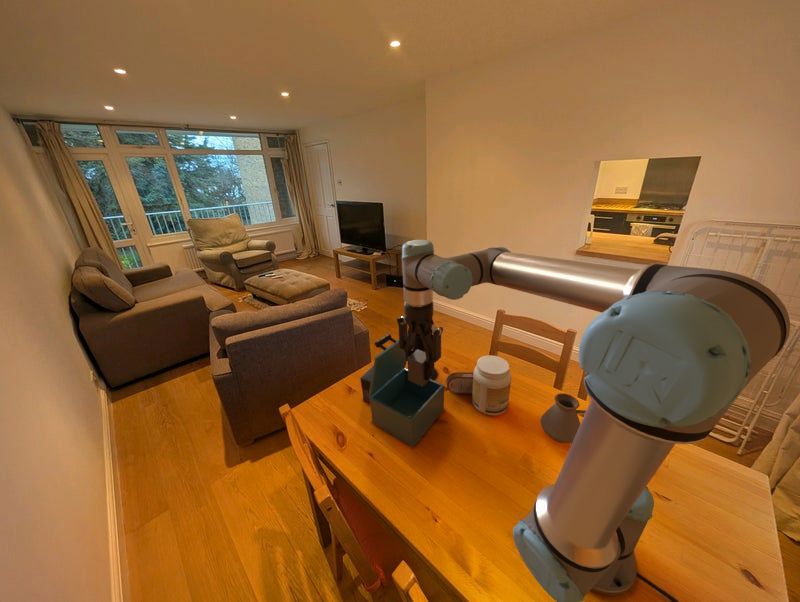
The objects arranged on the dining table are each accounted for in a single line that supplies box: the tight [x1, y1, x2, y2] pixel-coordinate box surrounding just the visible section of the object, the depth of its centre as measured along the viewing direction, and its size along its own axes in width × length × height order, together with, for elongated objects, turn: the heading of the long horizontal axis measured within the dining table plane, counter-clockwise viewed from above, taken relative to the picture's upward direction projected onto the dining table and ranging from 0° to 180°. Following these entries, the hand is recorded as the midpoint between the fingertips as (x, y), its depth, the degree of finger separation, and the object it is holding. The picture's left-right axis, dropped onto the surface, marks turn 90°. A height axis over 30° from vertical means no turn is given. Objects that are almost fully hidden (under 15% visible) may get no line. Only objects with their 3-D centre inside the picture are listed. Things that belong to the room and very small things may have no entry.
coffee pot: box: [539, 392, 587, 444], centre depth 85 cm, size 21×12×15 cm, turn 61°
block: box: [407, 349, 432, 387], centre depth 84 cm, size 5×5×8 cm
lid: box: [369, 333, 408, 397], centre depth 96 cm, size 17×19×6 cm
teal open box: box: [369, 367, 445, 448], centre depth 97 cm, size 17×19×11 cm
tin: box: [445, 371, 474, 395], centre depth 107 cm, size 15×3×8 cm, turn 86°
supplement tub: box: [471, 354, 512, 416], centre depth 99 cm, size 12×12×17 cm
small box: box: [359, 364, 374, 404], centre depth 108 cm, size 11×6×10 cm, turn 149°
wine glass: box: [412, 329, 438, 381], centre depth 116 cm, size 10×10×20 cm
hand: (420, 373), depth 85 cm, fingers closed on block, 5 cm apart
